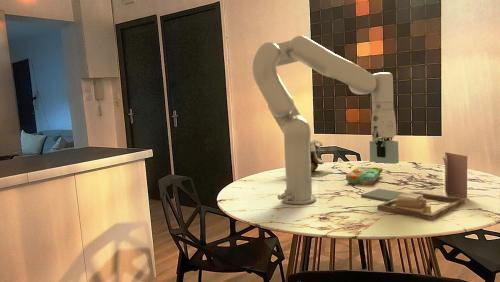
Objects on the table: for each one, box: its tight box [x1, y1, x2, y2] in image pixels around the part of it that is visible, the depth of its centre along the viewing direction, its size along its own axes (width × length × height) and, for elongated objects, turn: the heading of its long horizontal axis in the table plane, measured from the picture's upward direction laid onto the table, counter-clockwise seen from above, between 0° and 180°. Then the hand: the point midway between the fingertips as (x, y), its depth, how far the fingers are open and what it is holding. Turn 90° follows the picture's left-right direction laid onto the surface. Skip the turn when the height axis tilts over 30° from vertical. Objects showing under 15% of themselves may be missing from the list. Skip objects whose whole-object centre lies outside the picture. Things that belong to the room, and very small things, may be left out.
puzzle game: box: [345, 166, 383, 185], centre depth 184 cm, size 12×5×20 cm
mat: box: [360, 188, 405, 202], centre depth 155 cm, size 12×12×1 cm
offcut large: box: [390, 204, 432, 214], centre depth 134 cm, size 7×10×2 cm
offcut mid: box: [395, 198, 427, 209], centre depth 134 cm, size 6×8×2 cm
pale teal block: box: [369, 139, 400, 165], centre depth 153 cm, size 3×10×8 cm, turn 41°
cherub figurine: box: [310, 139, 333, 178], centre depth 202 cm, size 18×18×18 cm
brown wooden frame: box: [377, 191, 466, 221], centre depth 139 cm, size 24×18×2 cm
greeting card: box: [442, 151, 468, 199], centre depth 150 cm, size 11×7×15 cm, turn 159°
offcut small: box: [398, 192, 424, 203], centre depth 134 cm, size 5×6×2 cm
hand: (383, 155), depth 153 cm, fingers closed on pale teal block, 3 cm apart
